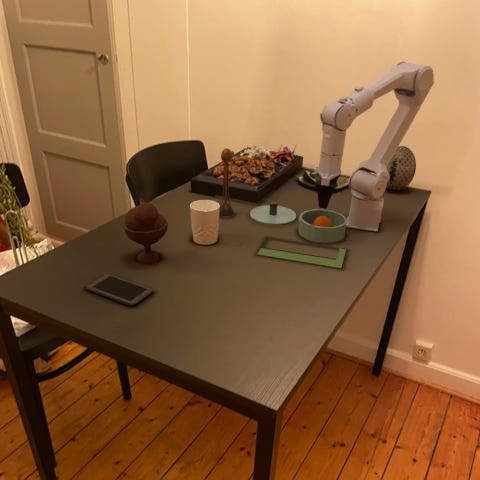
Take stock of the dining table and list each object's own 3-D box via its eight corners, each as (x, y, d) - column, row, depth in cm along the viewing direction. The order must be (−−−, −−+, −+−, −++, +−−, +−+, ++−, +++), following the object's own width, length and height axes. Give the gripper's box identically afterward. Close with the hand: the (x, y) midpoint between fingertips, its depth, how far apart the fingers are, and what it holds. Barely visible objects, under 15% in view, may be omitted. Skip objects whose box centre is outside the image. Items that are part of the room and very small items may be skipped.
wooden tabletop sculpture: (225, 209, 148) (226, 144, 137) (237, 213, 146) (239, 147, 135) (214, 215, 144) (215, 148, 133) (227, 219, 142) (228, 151, 131)
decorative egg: (372, 190, 167) (380, 147, 158) (382, 181, 175) (391, 140, 166) (405, 197, 162) (415, 153, 153) (414, 188, 170) (424, 145, 162)
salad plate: (321, 171, 183) (323, 159, 180) (360, 183, 173) (362, 171, 170) (289, 182, 172) (290, 169, 169) (328, 195, 161) (330, 182, 159)
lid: (299, 212, 149) (301, 197, 146) (290, 229, 137) (292, 214, 135) (256, 206, 152) (257, 191, 149) (244, 222, 141) (244, 207, 138)
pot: (346, 228, 139) (349, 212, 137) (341, 247, 129) (344, 230, 126) (302, 222, 142) (304, 206, 139) (294, 240, 132) (295, 223, 129)
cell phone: (107, 275, 112) (107, 273, 112) (154, 292, 107) (153, 289, 106) (85, 289, 107) (84, 286, 107) (132, 307, 102) (132, 304, 101)
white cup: (215, 247, 127) (215, 212, 121) (187, 244, 128) (186, 209, 122) (222, 235, 133) (222, 201, 127) (195, 232, 134) (194, 198, 128)
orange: (331, 230, 137) (333, 214, 134) (328, 237, 133) (331, 221, 130) (314, 228, 138) (316, 212, 135) (311, 235, 134) (313, 218, 131)
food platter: (245, 158, 194) (246, 132, 188) (302, 167, 186) (305, 140, 180) (191, 191, 161) (190, 161, 155) (256, 205, 152) (258, 173, 146)
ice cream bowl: (176, 252, 124) (173, 197, 115) (157, 271, 115) (152, 213, 106) (140, 245, 126) (135, 190, 118) (118, 263, 118) (111, 206, 109)
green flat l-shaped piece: (346, 250, 128) (346, 249, 127) (341, 268, 119) (341, 267, 119) (267, 238, 132) (267, 237, 132) (257, 255, 124) (257, 254, 123)
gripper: (320, 144, 129) (314, 192, 137) (312, 158, 117) (306, 210, 125) (346, 146, 127) (338, 195, 135) (340, 161, 116) (332, 214, 124)
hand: (324, 202), depth 130 cm, fingers open, 7 cm apart
